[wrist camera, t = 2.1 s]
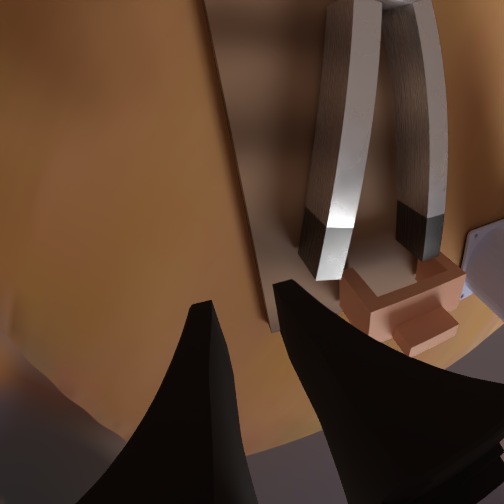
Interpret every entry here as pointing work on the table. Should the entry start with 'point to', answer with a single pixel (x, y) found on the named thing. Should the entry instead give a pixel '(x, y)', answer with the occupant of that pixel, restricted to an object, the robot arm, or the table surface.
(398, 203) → the base
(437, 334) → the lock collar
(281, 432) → the table surface
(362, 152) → the tongs arm
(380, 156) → the walnut board
